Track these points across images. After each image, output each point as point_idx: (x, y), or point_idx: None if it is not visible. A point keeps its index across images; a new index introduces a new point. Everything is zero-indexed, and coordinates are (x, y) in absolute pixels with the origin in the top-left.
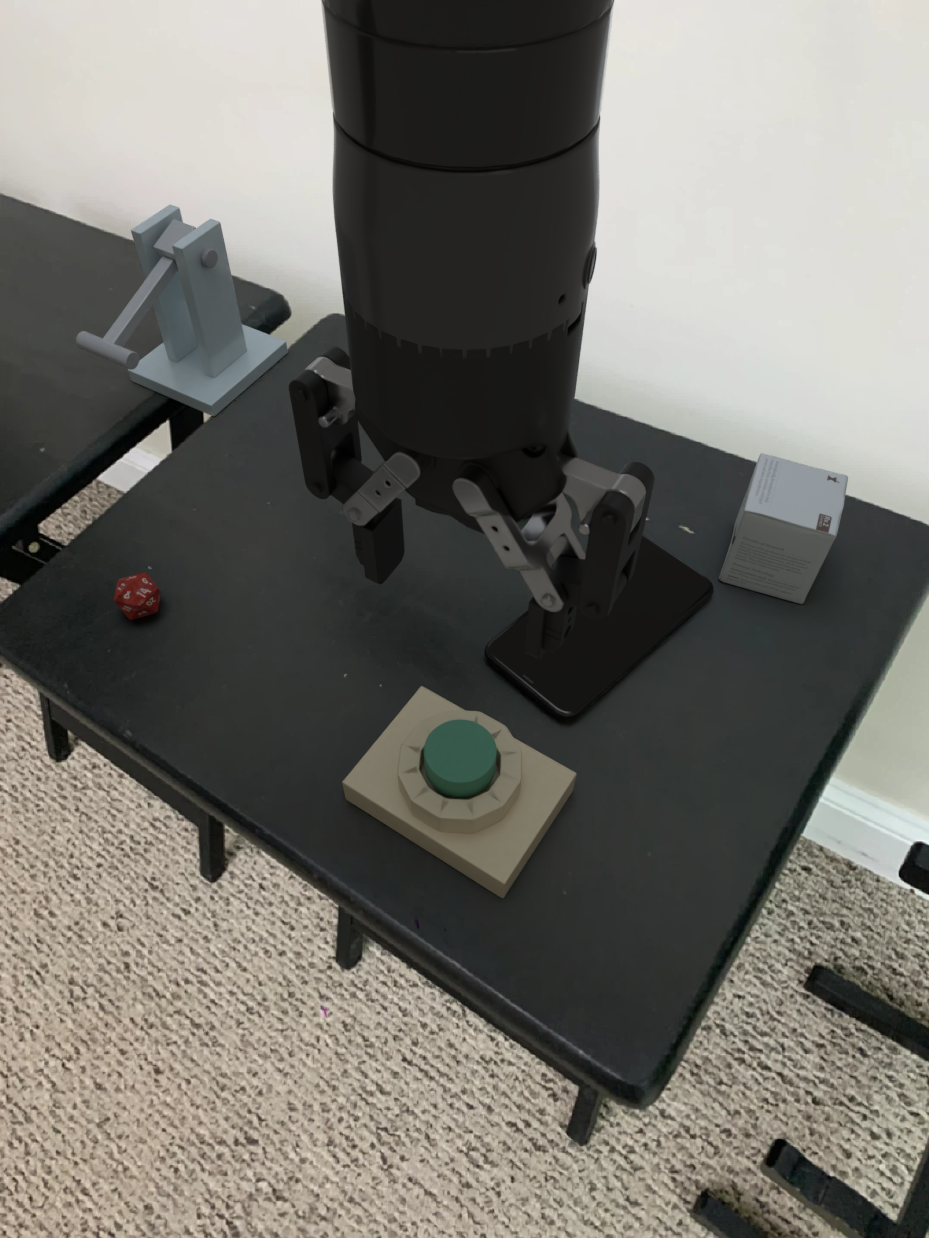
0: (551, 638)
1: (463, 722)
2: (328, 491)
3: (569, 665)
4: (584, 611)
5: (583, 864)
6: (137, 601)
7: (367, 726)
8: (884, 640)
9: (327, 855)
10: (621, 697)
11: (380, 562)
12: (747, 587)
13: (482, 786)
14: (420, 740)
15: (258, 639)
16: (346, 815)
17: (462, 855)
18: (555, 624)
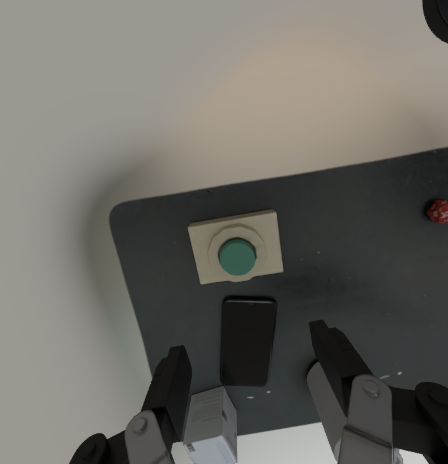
0: (161, 372)
1: (247, 271)
2: (422, 404)
3: (241, 319)
4: (101, 439)
5: (177, 255)
6: (442, 208)
7: (291, 240)
8: None
9: (259, 185)
10: (216, 320)
11: (319, 342)
12: (212, 389)
13: (220, 253)
14: (259, 251)
15: (368, 238)
16: (266, 204)
17: (209, 224)
18: (153, 390)
